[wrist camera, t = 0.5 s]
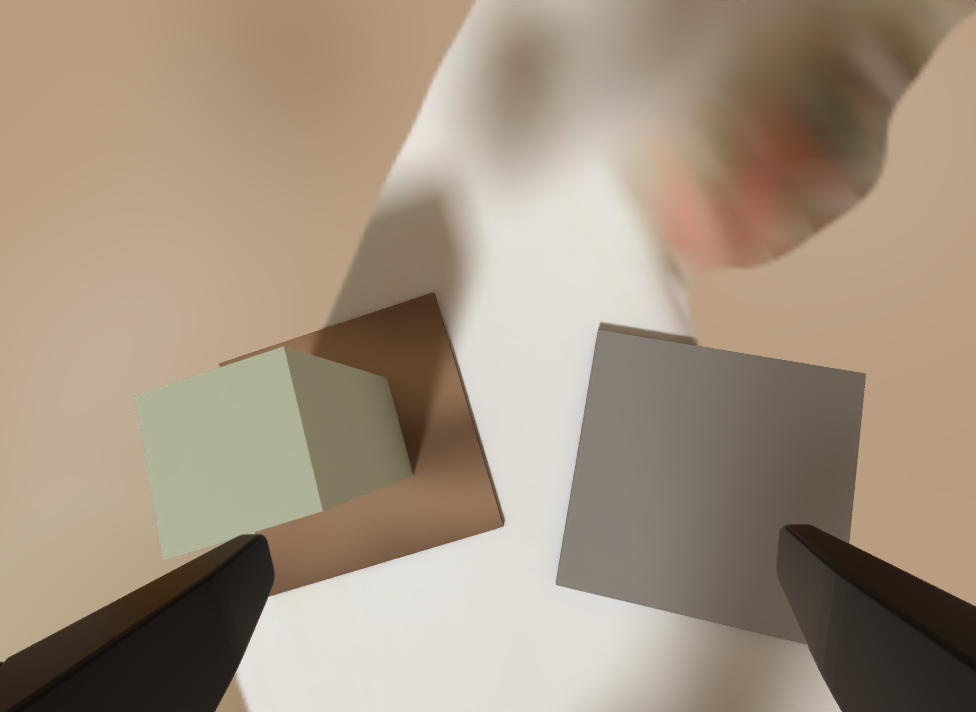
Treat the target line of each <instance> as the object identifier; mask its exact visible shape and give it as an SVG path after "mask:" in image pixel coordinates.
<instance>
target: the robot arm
mask: <svg viewBox="0 0 976 712" xmlns="http://www.w3.org/2000/svg"><path fill="white" fill-rule="evenodd" d="M776 572H777V577H778V580H779V583H780V585H781V587H782V590H783V592H784V594H785V596H786V598H787V601H788V603H789V605H790V607H791V609H792V612H793V614H794V616H795V618H796V621H797V623H798V625H799V627H800V629H801V632H802V634H803V636H804V638H805V641H806V643H807V645H808V647H809V649H810V652H811V654H812V656H813V658H814V660H815V662H816V665H817V667H818V669H819V671H820V673H821V675H822V677H823V679H824V681H825V682H826V684H827V686H828V688H829V690H830V692H831V693H832V695H833V697H834V699H835V700H836V702H837V704H838V706H839V707H840V709H841V711H842V712H976V606H974V605H972V604H970V603H967V602H966V601H964V600H961V599H960V598H958V597H956V596H953V595H952V594H950V593H948V592H945V591H944V590H942V589H939V588H938V587H936V586H934V585H931V584H929V583H927V582H925V581H923V580H921V579H919V578H917V577H915V576H913V575H911V574H909V573H907V572H905V571H903V570H901V569H899V568H897V567H895V566H893V565H891V564H889V563H887V562H885V561H883V560H881V559H879V558H877V557H875V556H873V555H871V554H869V553H867V552H865V551H863V550H861V549H859V548H857V547H855V546H853V545H851V544H849V543H847V542H845V541H843V540H841V539H839V538H837V537H835V536H833V535H831V534H829V533H827V532H825V531H823V530H821V529H819V528H817V527H815V526H813V525H810V524H785V525H783V526H782V527H781V529H780V531H779V539H778V550H777V561H776ZM274 580H275V570H274V566H273V561H272V557H271V553H270V549H269V544H268V541H267V538H266V537H265V536H264V535H262V534H242V535H239V536H237V537H235V538H233V539H231V540H230V541H228V542H226V543H224V544H222V545H220V546H218V547H216V548H214V549H213V550H211V551H209V552H207V553H205V554H203V555H201V556H199V557H197V558H196V559H194V560H192V561H190V562H188V563H186V564H184V565H182V566H180V567H179V568H177V569H175V570H173V571H171V572H169V573H167V574H165V575H164V576H162V577H160V578H158V579H156V580H154V581H152V582H150V583H149V584H146V585H145V586H143V587H141V588H139V589H137V590H135V591H133V592H131V593H129V594H128V595H126V596H124V597H122V598H120V599H118V600H116V601H115V602H112V603H111V604H109V605H107V606H105V607H103V608H101V609H99V610H97V611H95V612H93V613H92V614H90V615H88V616H86V617H84V618H82V619H80V620H78V621H76V622H75V623H73V624H71V625H69V626H67V627H65V628H63V629H62V630H60V631H58V632H56V633H54V634H52V635H50V636H48V637H46V638H44V639H42V640H41V641H39V642H37V643H35V644H33V645H31V646H30V647H27V648H25V649H24V650H22V651H20V652H18V653H16V654H14V655H12V656H10V657H8V658H7V659H6V660H5V662H0V712H215V711H216V709H217V707H218V705H219V703H220V702H221V700H222V697H223V696H224V694H225V692H226V690H227V688H228V687H229V685H230V683H231V681H232V679H233V677H234V675H235V673H236V671H237V669H238V667H239V664H240V662H241V660H242V658H243V656H244V653H245V651H246V649H247V646H248V644H249V642H250V639H251V637H252V634H253V632H254V630H255V627H256V625H257V623H258V620H259V618H260V616H261V613H262V611H263V608H264V606H265V604H266V601H267V599H268V597H269V594H270V592H271V590H272V587H273V584H274Z"/></svg>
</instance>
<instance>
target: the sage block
mask: <svg viewBox="0 0 976 712" xmlns="http://www.w3.org/2000/svg"><path fill="white" fill-rule="evenodd" d="M134 401H135V406H136V412H137V417H138V423H139V429H140V434H141V440H142V445H143V450H144V457H145V462H146V468H147V473H148V479H149V484H150V490H151V496H152V501H153V507H154V512H155V518H156V524H157V529H158V535H159V540H160V546H161V551H162V557H163V560H165V559H169V558H172V557H175V556H178V555H182V554H185V553H188V552H191V551H195V550H198V549H201V548H204V547H208V546H211V545H214V544H217V543H221V542H224V541H227V540H230V539H233V538H235V537H237V536H239V535H242V534H250V533H253V532H256V531H260V530H263V529H266V528H269V527H273V526H276V525H279V524H282V523H286V522H289V521H292V520H295V519H299V518H302V517H305V516H309V515H312V514H315V513H318V512H322V511H324V510H327V509H329V508H332V507H334V506H337V505H340V504H342V503H345V502H347V501H350V500H352V499H355V498H357V497H360V496H362V495H365V494H367V493H370V492H372V491H375V490H378V489H380V488H383V487H385V486H388V485H390V484H393V483H395V482H398V481H400V480H403V479H405V478H408V477H410V476H413V472H412V468H411V464H410V461H409V457H408V453H407V450H406V446H405V442H404V439H403V435H402V431H401V427H400V424H399V420H398V416H397V413H396V409H395V405H394V402H393V398H392V394H391V391H390V387H389V383H388V380H387V378H386V377H382V376H379V375H376V374H373V373H369V372H366V371H363V370H360V369H356V368H353V367H350V366H347V365H343V364H340V363H337V362H333V361H330V360H327V359H324V358H320V357H317V356H314V355H311V354H307V353H304V352H301V351H297V350H294V349H291V348H288V347H284V346H283V347H280V348H277V349H274V350H271V351H268V352H265V353H262V354H259V355H256V356H253V357H250V358H247V359H244V360H241V361H238V362H235V363H232V364H229V365H226V366H223V367H220V368H217V369H214V370H211V371H208V372H205V373H202V374H199V375H196V376H193V377H190V378H187V379H184V380H181V381H178V382H175V383H171V384H169V385H166V386H162V387H159V388H156V389H154V390H150V391H147V392H144V393H141V394H138V395H135V396H134Z"/></svg>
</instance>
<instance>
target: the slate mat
mask: <svg viewBox="0 0 976 712" xmlns="http://www.w3.org/2000/svg"><path fill="white" fill-rule="evenodd" d="M865 377H866V374H865V373H858V372H852V371H846V370H840V369H833V368H828V367H822V366H815V365H810V364H804V363H797V362H792V361H786V360H780V359H773V358H767V357H761V356H755V355H749V354H743V353H737V352H731V351H725V350H718V349H713V348H707V347H701V346H695V345H689V344H682V343H676V342H670V341H664V340H658V339H652V338H646V337H640V336H634V335H628V334H622V333H616V332H610V331H604V330H598V333H597V339H596V345H595V351H594V357H593V363H592V369H591V375H590V381H589V387H588V393H587V399H586V405H585V411H584V417H583V423H582V429H581V435H580V441H579V447H578V453H577V459H576V465H575V471H574V477H573V483H572V489H571V495H570V501H569V507H568V513H567V519H566V525H565V531H564V537H563V543H562V549H561V555H560V561H559V567H558V573H557V579H556V585H558V586H562V587H567V588H571V589H575V590H579V591H584V592H588V593H592V594H596V595H601V596H605V597H609V598H613V599H617V600H622V601H626V602H630V603H634V604H639V605H643V606H647V607H651V608H656V609H660V610H664V611H668V612H673V613H677V614H681V615H685V616H690V617H694V618H698V619H702V620H707V621H711V622H715V623H719V624H724V625H728V626H732V627H736V628H740V629H745V630H749V631H753V632H757V633H762V634H766V635H770V636H774V637H779V638H783V639H787V640H791V641H796V642H800V643H804V644H807V643H806V641H805V638H804V636H803V634H802V632H801V629H800V627H799V625H798V623H797V621H796V618H795V616H794V614H793V612H792V609H791V607H790V605H789V603H788V601H787V598H786V596H785V594H784V592H783V590H782V587H781V585H780V583H779V580H778V577H777V572H776V561H777V550H778V539H779V531H780V529H781V527H782V526H783V525H785V524H810V525H813V526H815V527H817V528H819V529H821V530H823V531H825V532H827V533H829V534H831V535H833V536H835V537H837V538H839V539H841V540H843V541H845V542H847V543H849V539H850V529H851V519H852V509H853V499H854V489H855V478H856V468H857V458H858V448H859V438H860V428H861V418H862V408H863V397H864V388H865Z"/></svg>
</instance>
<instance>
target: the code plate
mask: <svg viewBox="0 0 976 712" xmlns="http://www.w3.org/2000/svg"><path fill="white" fill-rule="evenodd" d="M283 346H284V347H288V348H291V349H294V350H297V351H301V352H304V353H307V354H311V355H314V356H317V357H320V358H324V359H327V360H330V361H333V362H337V363H340V364H343V365H347V366H350V367H353V368H356V369H360V370H363V371H366V372H369V373H373V374H376V375H379V376H382V377H386V378H387V380H388V383H389V387H390V391H391V394H392V398H393V402H394V405H395V409H396V413H397V416H398V420H399V424H400V427H401V431H402V435H403V439H404V442H405V446H406V450H407V453H408V457H409V461H410V464H411V468H412V472H413V476H410V477H408V478H405V479H403V480H400V481H398V482H395V483H393V484H390V485H388V486H385V487H383V488H380V489H378V490H375V491H372V492H370V493H367V494H365V495H362V496H360V497H357V498H355V499H352V500H350V501H347V502H345V503H342V504H340V505H337V506H334V507H332V508H329V509H327V510H324V511H322V512H318V513H315V514H312V515H309V516H305V517H302V518H299V519H295V520H292V521H289V522H286V523H282V524H279V525H276V526H273V527H269V528H266V529H263V530H260V531H256V532H255V534H262V535H264V536H265V537H266V538H267V541H268V544H269V549H270V553H271V557H272V561H273V566H274V570H275V580H274V584H273V587H272V590H271V592H270V594H269V596H272V595H276V594H279V593H282V592H286V591H289V590H292V589H296V588H299V587H302V586H306V585H309V584H313V583H316V582H319V581H323V580H326V579H329V578H333V577H336V576H339V575H343V574H346V573H349V572H353V571H356V570H359V569H363V568H366V567H370V566H373V565H376V564H380V563H383V562H386V561H390V560H393V559H396V558H400V557H403V556H406V555H410V554H413V553H416V552H420V551H423V550H427V549H430V548H433V547H437V546H440V545H443V544H447V543H450V542H453V541H457V540H460V539H463V538H467V537H470V536H473V535H477V534H480V533H484V532H487V531H490V530H494V529H497V528H500V527H503V526H504V525H503V522H502V519H501V515H500V512H499V509H498V505H497V502H496V499H495V495H494V492H493V488H492V485H491V482H490V478H489V475H488V472H487V468H486V465H485V462H484V458H483V455H482V451H481V448H480V445H479V441H478V438H477V435H476V431H475V428H474V425H473V421H472V418H471V414H470V411H469V408H468V404H467V401H466V398H465V394H464V391H463V388H462V384H461V381H460V377H459V374H458V371H457V367H456V364H455V361H454V357H453V354H452V351H451V347H450V344H449V340H448V337H447V334H446V330H445V327H444V324H443V320H442V317H441V314H440V310H439V307H438V303H437V300H436V297H435V293H431V294H428V295H425V296H422V297H419V298H416V299H413V300H409V301H406V302H403V303H400V304H397V305H394V306H391V307H388V308H385V309H382V310H379V311H376V312H373V313H370V314H367V315H364V316H361V317H358V318H355V319H352V320H349V321H346V322H343V323H340V324H337V325H334V326H331V327H328V328H325V329H322V330H319V331H316V332H313V333H310V334H307V335H304V336H301V337H298V338H295V339H292V340H289V341H286V342H283V343H280V344H277V345H274V346H271V347H268V348H265V349H262V350H259V351H256V352H253V353H250V354H247V355H244V356H241V357H238V358H235V359H232V360H229V361H226V362H223V363H220V364H219V366H220V367H223V366H226V365H229V364H232V363H235V362H238V361H241V360H244V359H247V358H250V357H253V356H256V355H259V354H262V353H265V352H268V351H271V350H274V349H277V348H280V347H283Z"/></svg>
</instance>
